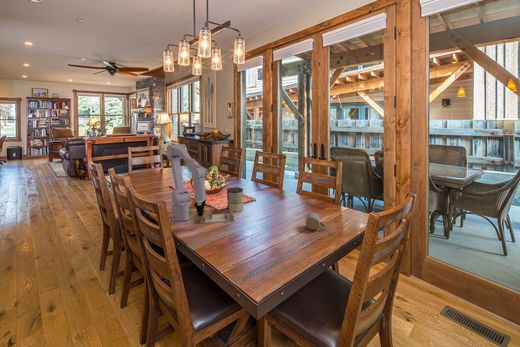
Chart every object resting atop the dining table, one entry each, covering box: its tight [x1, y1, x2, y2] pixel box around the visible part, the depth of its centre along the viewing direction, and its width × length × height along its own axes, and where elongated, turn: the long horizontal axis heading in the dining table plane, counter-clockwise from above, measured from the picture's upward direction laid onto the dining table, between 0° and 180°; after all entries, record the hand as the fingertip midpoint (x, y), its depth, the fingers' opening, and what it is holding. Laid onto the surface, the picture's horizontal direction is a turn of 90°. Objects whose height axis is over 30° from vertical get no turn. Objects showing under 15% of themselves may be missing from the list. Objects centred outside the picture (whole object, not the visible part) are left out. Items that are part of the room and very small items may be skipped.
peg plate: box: [200, 210, 237, 224], centre depth 172 cm, size 20×12×3 cm, turn 98°
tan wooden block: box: [188, 207, 213, 220], centre depth 157 cm, size 12×4×5 cm, turn 98°
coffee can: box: [226, 186, 244, 214], centre depth 187 cm, size 10×10×14 cm
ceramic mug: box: [305, 212, 327, 231], centre depth 157 cm, size 11×8×8 cm
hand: (200, 214), depth 157 cm, fingers closed on tan wooden block, 4 cm apart
